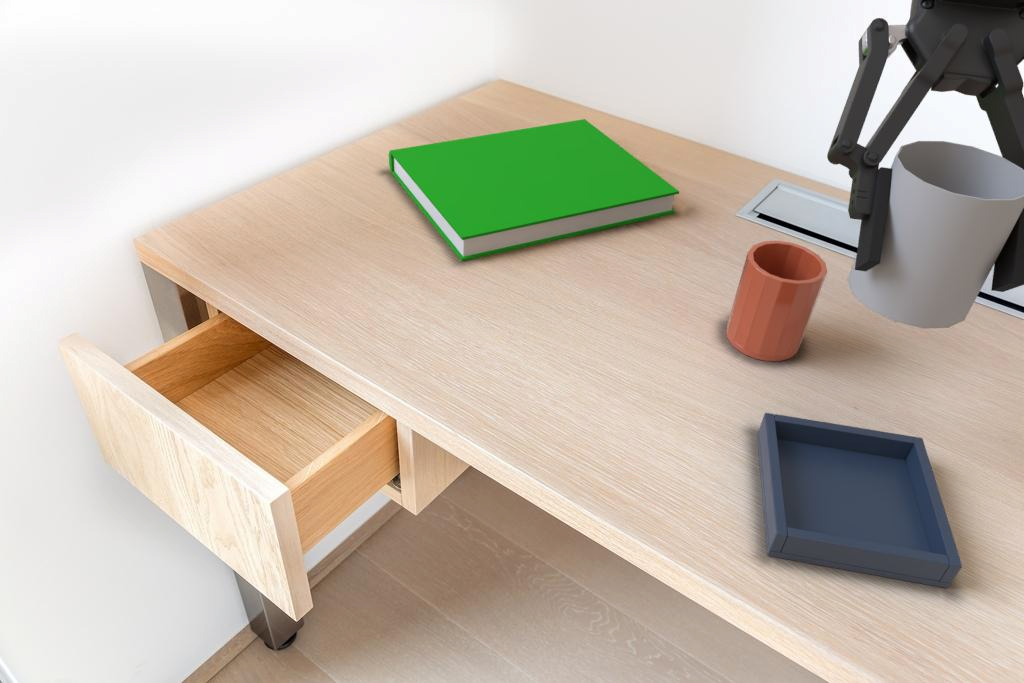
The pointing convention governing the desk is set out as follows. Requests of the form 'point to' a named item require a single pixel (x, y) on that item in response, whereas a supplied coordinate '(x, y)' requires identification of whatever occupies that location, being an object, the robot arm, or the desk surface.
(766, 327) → the tumbler
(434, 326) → the desk surface
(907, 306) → the cup
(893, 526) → the tray
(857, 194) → the robot arm
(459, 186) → the book
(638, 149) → the desk surface
